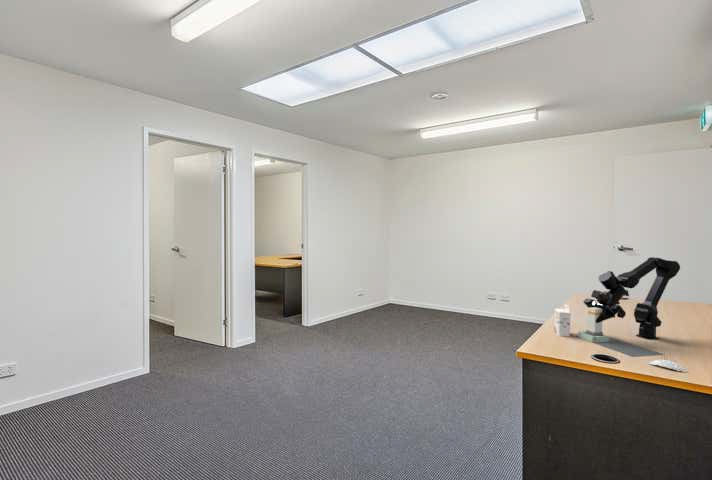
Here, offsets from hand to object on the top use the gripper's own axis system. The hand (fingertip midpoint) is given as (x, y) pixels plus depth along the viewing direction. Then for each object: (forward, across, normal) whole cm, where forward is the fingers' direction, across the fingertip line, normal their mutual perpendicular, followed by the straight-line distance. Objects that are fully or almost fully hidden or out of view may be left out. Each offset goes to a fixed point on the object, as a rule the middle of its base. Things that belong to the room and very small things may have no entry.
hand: (592, 321), depth 180 cm
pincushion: (+8, +36, +5) cm, 38 cm away
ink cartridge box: (+11, -11, +2) cm, 16 cm away
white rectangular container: (+4, 0, +6) cm, 7 cm away
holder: (+5, 0, +7) cm, 9 cm away
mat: (+3, +9, +9) cm, 13 cm away
